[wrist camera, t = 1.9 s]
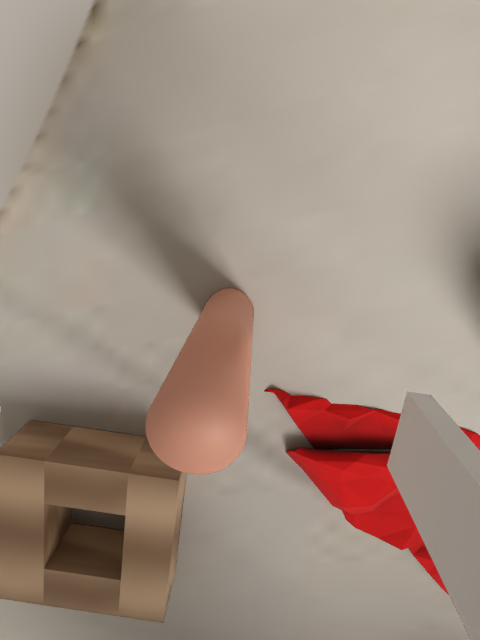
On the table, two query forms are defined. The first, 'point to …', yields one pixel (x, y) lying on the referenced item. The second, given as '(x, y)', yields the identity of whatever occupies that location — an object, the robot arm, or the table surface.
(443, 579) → the robot arm
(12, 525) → the square frame
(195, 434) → the dowel
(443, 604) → the table surface
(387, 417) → the cloth
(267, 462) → the table surface
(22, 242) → the table surface
